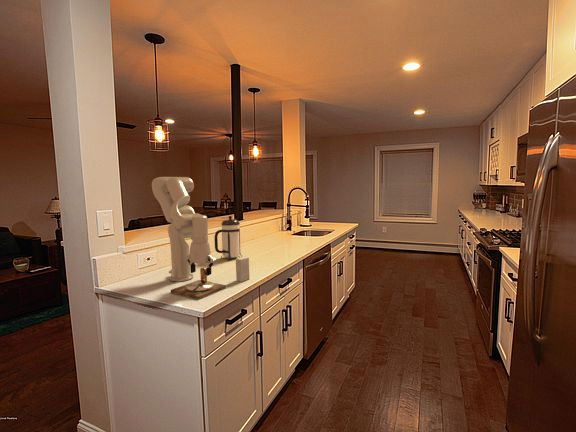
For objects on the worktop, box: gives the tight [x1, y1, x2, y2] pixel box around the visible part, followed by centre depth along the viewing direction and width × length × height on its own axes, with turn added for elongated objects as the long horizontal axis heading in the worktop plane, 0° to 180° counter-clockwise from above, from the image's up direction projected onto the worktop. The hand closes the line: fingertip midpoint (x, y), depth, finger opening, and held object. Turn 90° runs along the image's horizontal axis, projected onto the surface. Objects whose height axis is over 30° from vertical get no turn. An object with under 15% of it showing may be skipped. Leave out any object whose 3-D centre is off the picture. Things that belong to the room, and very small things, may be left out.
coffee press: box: [214, 215, 243, 261], centre depth 219 cm, size 17×16×30 cm
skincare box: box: [235, 256, 250, 283], centre depth 169 cm, size 6×4×12 cm
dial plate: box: [170, 279, 227, 300], centre depth 153 cm, size 19×18×2 cm
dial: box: [186, 267, 215, 292], centre depth 151 cm, size 15×13×8 cm
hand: (200, 273), depth 158 cm, fingers open, 9 cm apart
